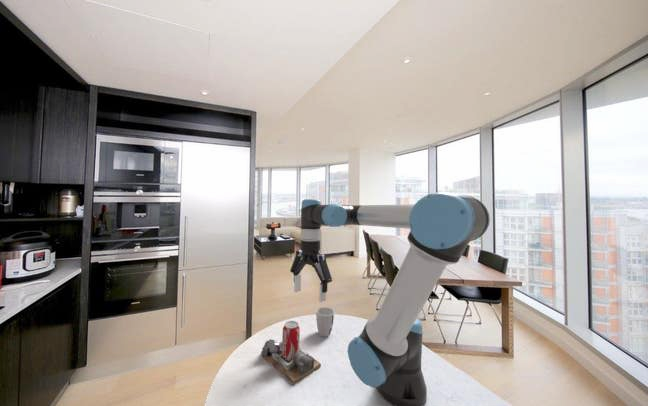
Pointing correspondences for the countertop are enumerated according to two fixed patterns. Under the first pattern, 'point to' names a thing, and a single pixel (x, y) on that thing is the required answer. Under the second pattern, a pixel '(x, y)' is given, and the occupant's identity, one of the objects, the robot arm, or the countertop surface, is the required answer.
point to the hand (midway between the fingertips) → (309, 296)
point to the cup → (324, 320)
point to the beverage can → (290, 340)
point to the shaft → (271, 348)
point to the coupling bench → (294, 365)
